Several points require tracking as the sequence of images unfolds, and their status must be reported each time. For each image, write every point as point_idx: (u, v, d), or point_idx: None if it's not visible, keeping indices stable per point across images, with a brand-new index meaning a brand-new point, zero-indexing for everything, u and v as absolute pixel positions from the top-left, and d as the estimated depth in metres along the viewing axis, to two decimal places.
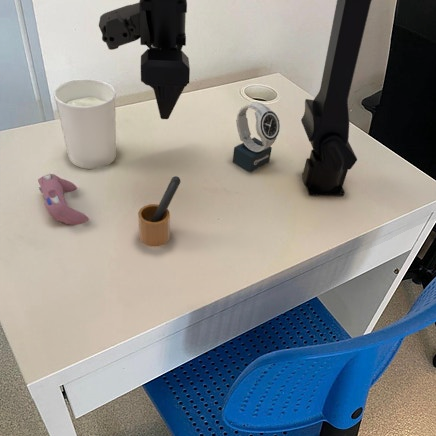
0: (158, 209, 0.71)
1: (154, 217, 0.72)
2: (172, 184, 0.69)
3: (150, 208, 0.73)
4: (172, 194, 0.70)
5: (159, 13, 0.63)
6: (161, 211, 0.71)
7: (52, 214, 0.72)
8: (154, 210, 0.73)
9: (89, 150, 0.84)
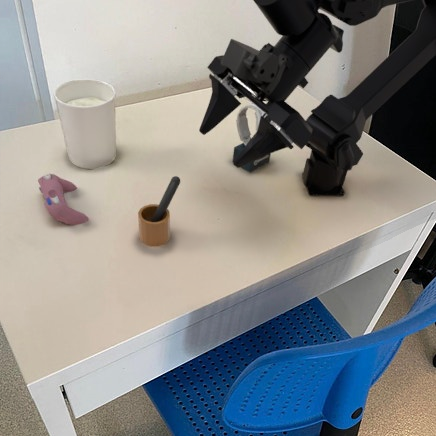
0: (158, 209, 0.71)
1: (154, 217, 0.72)
2: (172, 184, 0.69)
3: (150, 208, 0.73)
4: (172, 194, 0.70)
5: (293, 76, 0.64)
6: (161, 211, 0.71)
7: (52, 214, 0.72)
8: (154, 210, 0.73)
9: (89, 150, 0.84)
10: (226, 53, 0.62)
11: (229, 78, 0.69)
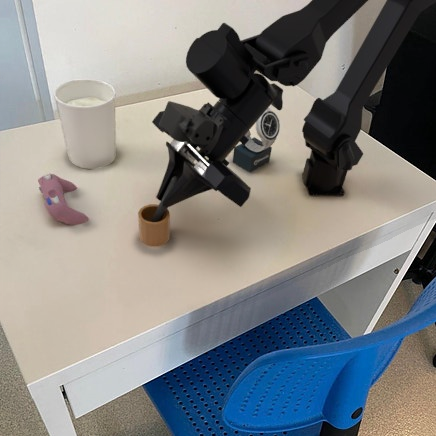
0: (158, 209, 0.71)
1: (154, 217, 0.72)
2: (172, 184, 0.69)
3: (150, 208, 0.73)
4: None
5: (231, 135, 0.65)
6: (161, 211, 0.71)
7: (52, 214, 0.72)
8: (154, 210, 0.73)
9: (89, 150, 0.84)
10: (163, 115, 0.63)
11: (186, 146, 0.68)
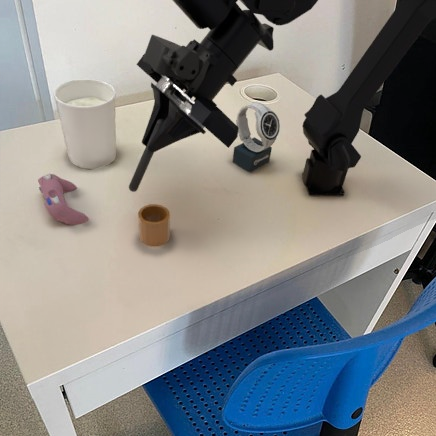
0: (143, 155, 0.69)
1: (139, 164, 0.69)
2: (157, 127, 0.66)
3: (150, 208, 0.73)
4: None
5: (218, 73, 0.63)
6: (146, 157, 0.68)
7: (52, 214, 0.72)
8: (154, 210, 0.73)
9: (89, 150, 0.84)
10: (147, 49, 0.60)
11: (171, 87, 0.66)
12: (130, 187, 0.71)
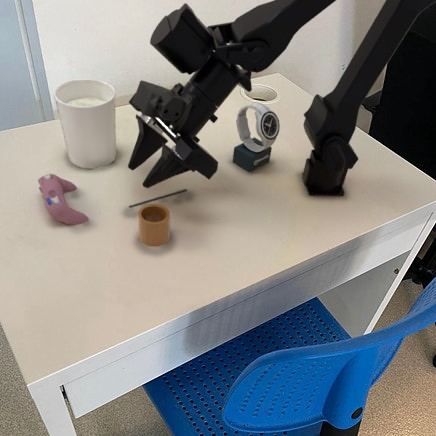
0: (159, 198, 0.81)
1: (152, 200, 0.80)
2: None
3: (150, 208, 0.73)
4: None
5: (201, 113, 0.70)
6: None
7: (52, 214, 0.72)
8: (154, 210, 0.73)
9: (89, 150, 0.84)
10: (136, 93, 0.68)
11: (154, 119, 0.74)
12: (131, 207, 0.79)
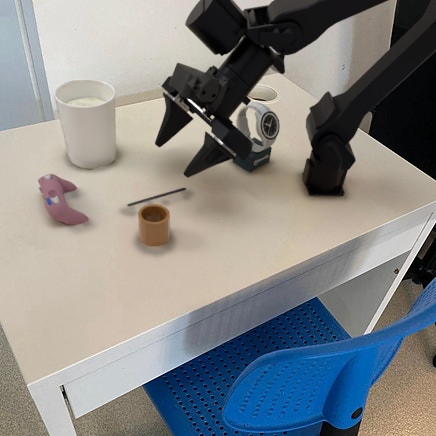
0: (157, 195, 0.81)
1: None
2: (181, 189, 0.83)
3: (150, 208, 0.73)
4: None
5: (235, 95, 0.71)
6: (158, 196, 0.81)
7: (52, 214, 0.72)
8: (154, 210, 0.73)
9: (89, 150, 0.84)
10: (173, 75, 0.69)
11: (180, 96, 0.77)
12: (128, 204, 0.79)
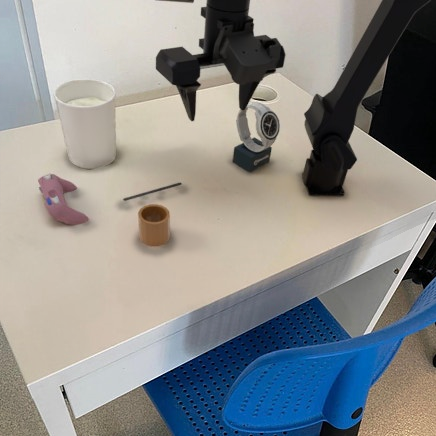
0: None
1: None
2: None
3: (150, 208, 0.73)
4: None
5: None
6: None
7: (52, 214, 0.72)
8: (154, 210, 0.73)
9: (89, 150, 0.84)
10: (245, 76, 0.65)
11: None
12: None
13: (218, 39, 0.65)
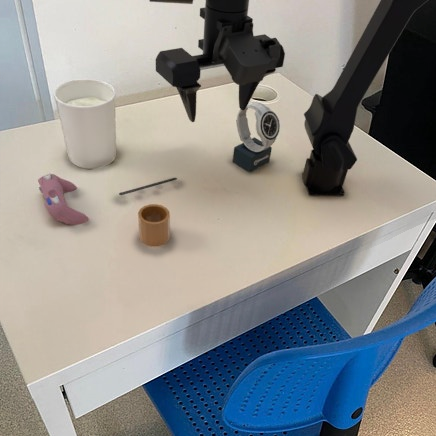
0: None
1: None
2: None
3: (150, 208, 0.73)
4: None
5: None
6: None
7: (52, 214, 0.72)
8: (154, 210, 0.73)
9: (89, 150, 0.84)
10: (245, 76, 0.65)
11: None
12: None
13: (217, 40, 0.65)
